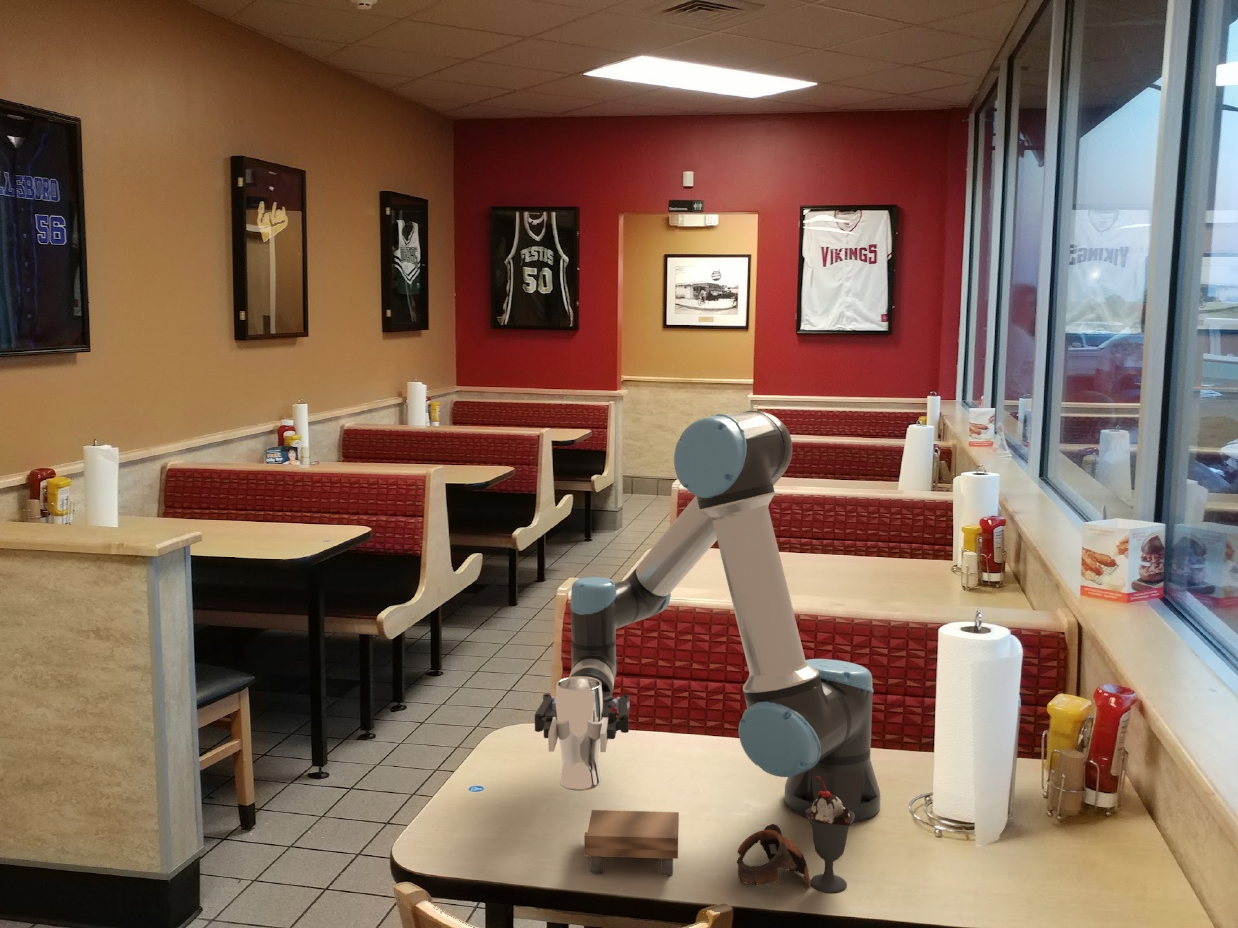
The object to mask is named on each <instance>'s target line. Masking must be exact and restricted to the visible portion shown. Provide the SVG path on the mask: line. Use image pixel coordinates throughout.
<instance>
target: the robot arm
mask: <svg viewBox="0 0 1238 928" xmlns="http://www.w3.org/2000/svg"><path fill="white" fill-rule="evenodd" d="M792 456H793V440H792V437H791V434H790V432H789V430H788V428H787V427H786V425H785V424H784V422H782V420H780V419H779V418H778V417H776V416H775V415H773V414H771V413H768V412H767V411H762V410H747V411H743V412H742V411H741V412H731V413H729V412H728V413H722V414H721V413H719V414H715V415H714V414H713V415H710V416H707V417H703V418H700V419H698V420H695V421H693V422H692V423H690V424H689V425H688V426H687V427H686V428H685V429H684V430H683V431H682V433H681V435H680V437H679V439H678V440H677V442H676V446H675V450H674V453H673V462H674V463H673V464H674V466H673V467H674V472H675V475H676V477H677V479H678V481H679V483H680V484H681V486H682V487H683V488H685V489H686V490H688V493H690V494H691V495H694V497H693V499H692V500H691V501H690V502H689V503H688V505H687V506H686V507H685V508H684V509H683V510H682V512H681V513H680V514H679V515H678V516H677V518H676V519H675V520H674V521H673V522H672V524H671V525H670V526H669V527H668V528H667V529H666V531H665V532H664V533H663V534H662V535H661V537H660V538H659V539H658V541H657V542H655V544H654V545H653V547H652V548H651V549H649V551H648V552H647V554H646V555H645V556H644V557H643V559H642V560H641V561H640V562H639V563H638V564H637V566H636V567H635V568H634V569H633V571H632V572H631V573H630V574H629V575H628V576H627V578H624V580H622V581H618V582H614V581H613V580H612V579H611V578H608V577H602V576H589V577H581V578H578V579H577V580H575V581H574V582H573V583H572V584H571V594H570V595H571V596H570V604H569V608H570V623H571V624H570V625H571V629H570V631H571V632H570V633H571V648H570V649H571V670H570V673H569V676H568V677H575V676H586V677H593V678H596V679H598V680H600V681H601V683H602V695H603V722H602V726H601V731H600V745H599V750H600V751H599V752H600V753H606V751H607V746H608V740H614V739H616V735H617V732H618V731H620V733H623V734H627V733H629V732H630V727H629V725H630V720H629V717H630V715H629V713H630V709H631V707H630V706H631V705H630V703H631V702H630V695H629V694H622V695H621V696H620V697H619V696H618V697H616V698H614V696H613V691H614V686H615V679H616V675H617V674H618V658H617V655H616V654H617V651H616V650H617V647H616V644H617V639H616V638H617V637H616V636H617V634H616V633H617V632H616V631H617V629H620V628H623V627H625V626H628V625H631V624H634V623H636V622H639V621H642V620H645V619H650V618H652V617H655V616H657V615H658V614H660V613H661V612H664V611H665V610H666V608H667V607H668V606H669V604H670V600H671V597H672V596H671V595H672V594H671V593H672V592H673V591H674V590H675V589H676V587H677V586H679V584H681V581H682V580H683V579H684V578H685V577H686V576H687V575H688V574H689V573H690V571H692V569H693V568H694V566H695V565H697V563H698V562H699V561H700V560H701V559H702V558H703V557H704V555H705V554H707V552H708V551H709V550H710V548H711V547H712V546H713V545H714V544H715V543H716V542H717V544H718V548H719V552H720V558H721V561H722V565H723V568H724V573H725V578H726V583H727V586H728V590H729V594H730V597H731V598H730V599H731V602H732V606H733V612H734V614H735V615H734V616H735V619H736V624H737V627H738V631H739V636H740V639H741V644H742V648H743V653H744V655H745V660H746V664H747V669H748V672H749V675H748V678H747V679H746V682H745V683H744V684H743V686H742V691H743V696H744V700H745V704H746V708H747V709H745V710H744V712H743V714H742V718H741V719H740V720H739V723H738V736H739V742H740V745H741V747H742V749H743V751H744V753H745V754H746V756H747V758H748V759H749V760H750V761H751V762H752V763H753V764H754V765H755V766H757V767H759V768H760V769H761V770H762V771H763V772H765V773H767V774H769V775H771V776H775V777H779V778H786V781H785V783H784V802H785V805H786V807H788V808H789V809H790V810H791V811H793V812H795V813H796V814H798V815H799V816H802V817H805V818H807V819H808V817H806V816H805V813H806V810H807V809H809V808H812V805H813V803H814V801H816V800H817V799H818V798H819V796H818V793H819V792H820V791H822V790H823V785H822V783H823V782H824V785H825V787H826V790H827V791H829V792H830V794H832V795H835V796H837V797H838V798H839V799H840V800H841V802H842V803H843V807H844V808H847V807H848V808H849V811H851V812H853V813H854V814H855V819H854V821H853V823H857V822H861V821H865V820H868V819H870V818H873V817H874V816H876V815H877V814H878V813H879V811H880V808H881V791H880V787H879V783H878V781H877V777H876V774H875V771H874V767H873V762H872V761H871V747H872V746H871V743H872V720H873V719H872V716H873V715H872V714H873V697H874V696H873V694H874V691H875V690H874V688H873V676H872V673H871V671H870V670H869V669H868V668H866V667H865V666H863V665H859V664H857V663H853V662H849V661H845V660H838V659H826V658H812V659H811V658H810V659H806V657H805V653H804V649H803V645H802V641H801V636H800V634H799V629H798V625H797V621H796V617H795V612H794V608H793V604H792V601H791V595H790V592H789V588H788V584H787V580H786V575H785V571H784V567H783V564H782V559H781V554H780V551H779V546H778V543H777V538H776V535H775V531H774V527H773V526H774V525H773V523H772V517H771V514H770V513H771V512H770V510H769V505H770V504H771V501H772V500H773V498H774V497H775V495H776V492H775V487H774V486H775V484H777V482H778V481H779V480H780V479H781V478H782V476H783V475H784V474H785V473H786V471H787V469H788V467H789V465H790V463H791V461H792V459H793V457H792ZM555 704H556V696H553V695H552V694H550V693H544V694H542V703H540V705H539V707H538V708H537V710H536V712H535V713H534V731H535V732H537V733H540V732H542V731H543V738H544V739H548V744H547V745H548V752H549V753H553V752H555V750H556V747H557V746H556V745H557V743H558V740H559V737H558V732H557V723H556V714H555ZM613 708H614V709H615V710H616V711H612V710H611V709H613ZM617 714H618V717H617ZM817 776H818V777H821V780H822V781H823V782H822V783H821V782H820V781H821V780H820V779H819V780H820V781H819V780H818V779H817V778H816V777H817ZM825 787H824V791H825Z"/></svg>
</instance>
